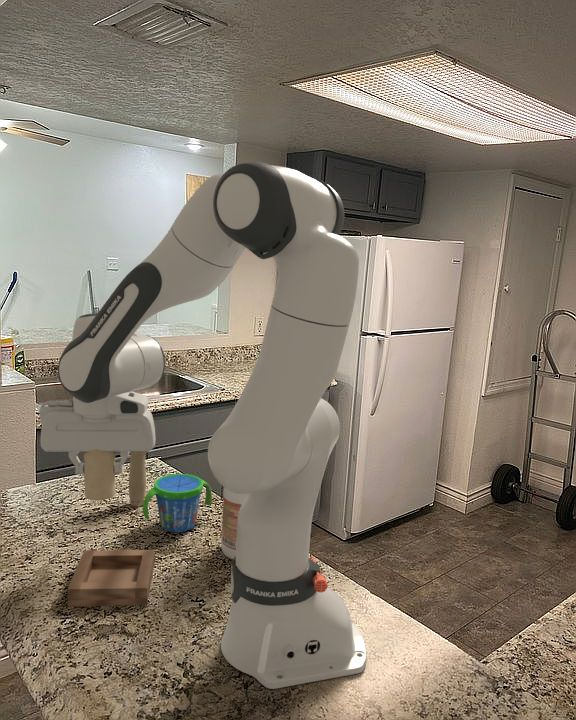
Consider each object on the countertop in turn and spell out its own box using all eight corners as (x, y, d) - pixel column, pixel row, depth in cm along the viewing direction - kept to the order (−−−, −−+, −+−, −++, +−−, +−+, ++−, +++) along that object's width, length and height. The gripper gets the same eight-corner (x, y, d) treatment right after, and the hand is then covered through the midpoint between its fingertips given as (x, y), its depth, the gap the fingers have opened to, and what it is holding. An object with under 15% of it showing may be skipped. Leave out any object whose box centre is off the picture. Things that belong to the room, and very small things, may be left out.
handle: (138, 511, 136) (139, 449, 134) (119, 503, 140) (120, 442, 137) (154, 505, 140) (155, 444, 138) (135, 497, 144) (136, 438, 141)
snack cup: (149, 543, 122) (150, 497, 120) (135, 522, 131) (136, 478, 129) (219, 530, 130) (221, 486, 128) (202, 510, 139) (203, 469, 137)
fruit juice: (225, 537, 127) (230, 410, 122) (269, 541, 126) (276, 414, 121) (217, 560, 117) (222, 423, 112) (264, 564, 117) (272, 427, 112)
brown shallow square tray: (154, 565, 114) (154, 549, 114) (147, 605, 101) (147, 588, 101) (84, 566, 112) (84, 550, 112) (67, 606, 100) (67, 589, 99)
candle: (106, 502, 109) (105, 450, 107) (78, 498, 110) (77, 447, 108) (120, 490, 114) (120, 440, 112) (94, 487, 115) (93, 438, 113)
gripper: (33, 404, 104) (36, 479, 106) (153, 405, 107) (153, 478, 109) (44, 396, 110) (46, 467, 113) (156, 397, 113) (156, 466, 115)
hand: (99, 473), depth 111 cm, fingers closed on candle, 5 cm apart
